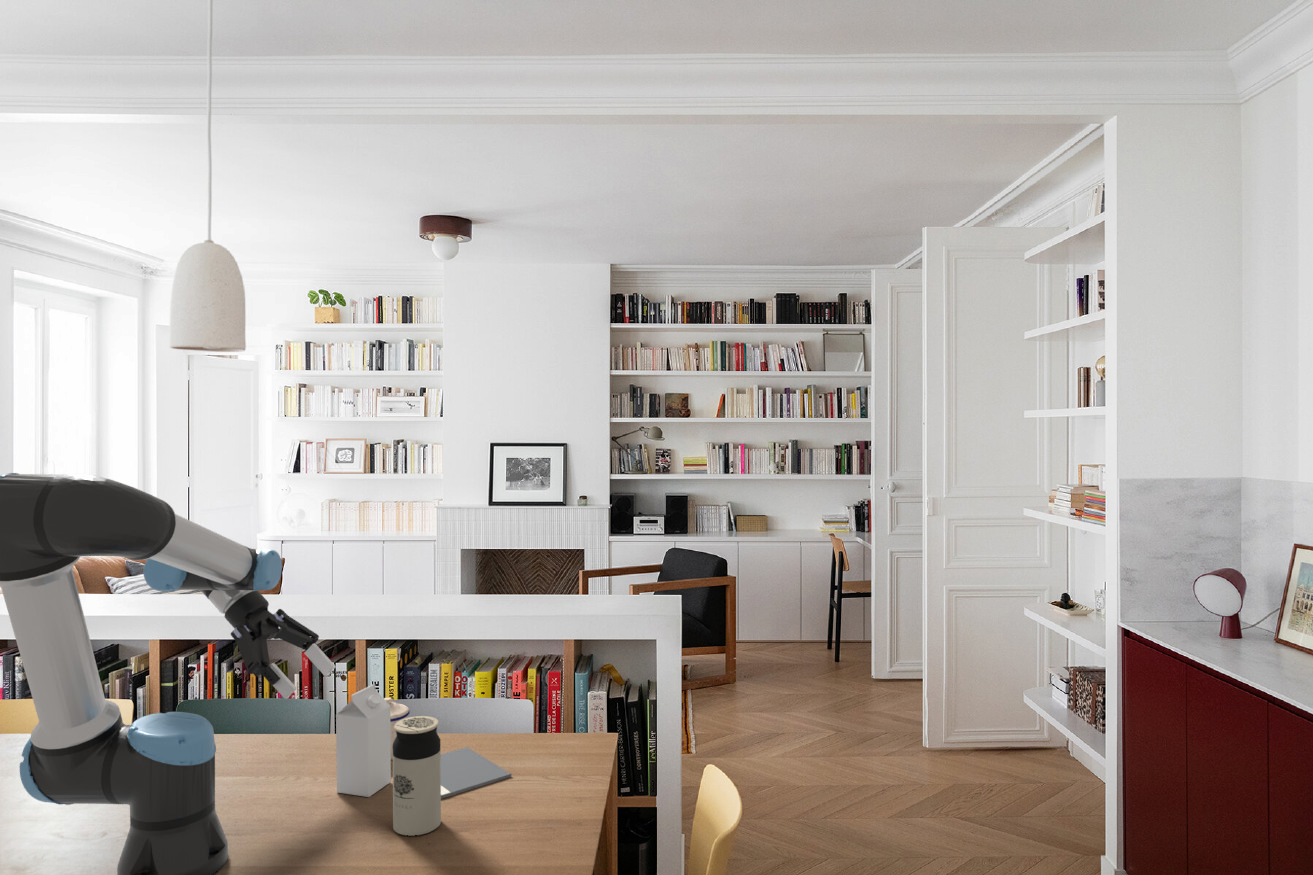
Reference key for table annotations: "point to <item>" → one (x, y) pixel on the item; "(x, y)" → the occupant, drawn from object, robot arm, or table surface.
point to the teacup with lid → (396, 718)
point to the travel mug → (416, 776)
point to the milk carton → (363, 744)
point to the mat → (467, 771)
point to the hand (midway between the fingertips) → (311, 682)
